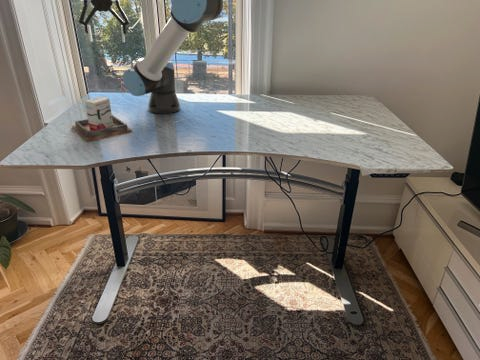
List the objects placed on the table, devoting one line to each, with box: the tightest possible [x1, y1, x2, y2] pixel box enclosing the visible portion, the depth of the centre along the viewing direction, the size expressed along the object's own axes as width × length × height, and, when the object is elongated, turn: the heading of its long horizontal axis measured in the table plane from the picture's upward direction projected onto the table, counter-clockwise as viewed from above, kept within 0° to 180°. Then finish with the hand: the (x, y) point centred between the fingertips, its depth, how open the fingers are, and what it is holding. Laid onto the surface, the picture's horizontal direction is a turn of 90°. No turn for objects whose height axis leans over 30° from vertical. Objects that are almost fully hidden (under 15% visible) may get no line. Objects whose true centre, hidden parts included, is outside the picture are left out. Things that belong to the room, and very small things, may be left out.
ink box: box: [84, 95, 113, 130], centre depth 138 cm, size 8×5×12 cm, turn 153°
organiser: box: [71, 114, 133, 142], centre depth 140 cm, size 18×18×3 cm
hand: (107, 41), depth 149 cm, fingers open, 13 cm apart
